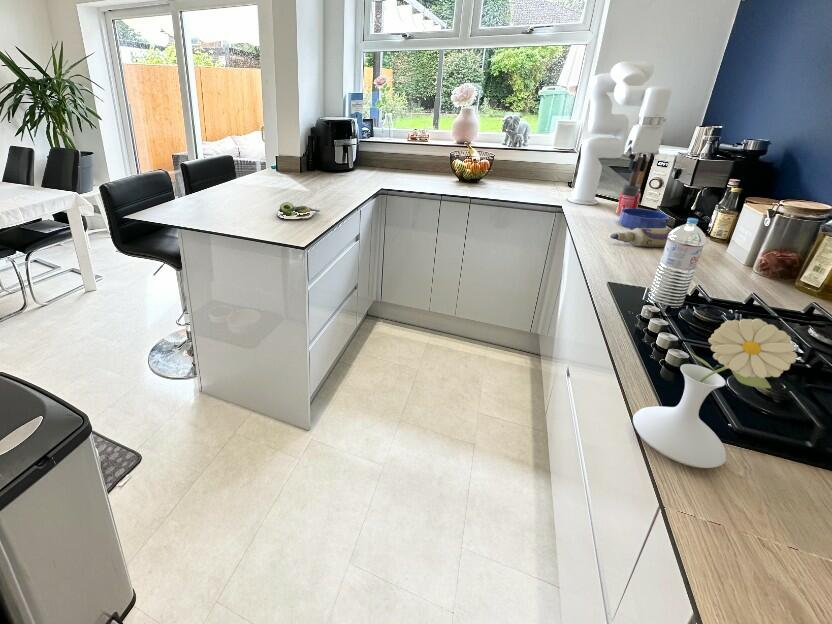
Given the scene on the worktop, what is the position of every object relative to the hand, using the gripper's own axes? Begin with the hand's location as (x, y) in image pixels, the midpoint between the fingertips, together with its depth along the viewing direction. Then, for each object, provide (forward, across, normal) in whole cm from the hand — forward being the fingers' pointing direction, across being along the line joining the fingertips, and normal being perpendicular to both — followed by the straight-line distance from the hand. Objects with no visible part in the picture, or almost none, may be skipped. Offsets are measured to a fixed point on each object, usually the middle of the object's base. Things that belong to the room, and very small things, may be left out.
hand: (636, 170), depth 154 cm
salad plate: (+24, +135, -18) cm, 138 cm away
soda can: (+24, -14, -17) cm, 33 cm away
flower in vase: (+23, +64, +107) cm, 127 cm away
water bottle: (+23, +34, +66) cm, 78 cm away
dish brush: (+10, 0, 0) cm, 10 cm away
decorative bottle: (+24, +3, +19) cm, 30 cm away
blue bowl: (+24, -10, -2) cm, 26 cm away
